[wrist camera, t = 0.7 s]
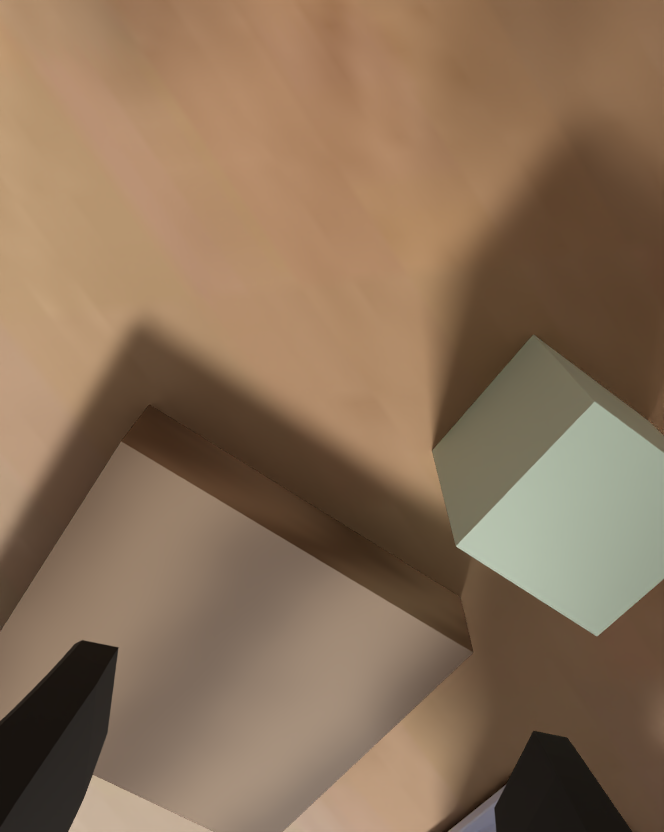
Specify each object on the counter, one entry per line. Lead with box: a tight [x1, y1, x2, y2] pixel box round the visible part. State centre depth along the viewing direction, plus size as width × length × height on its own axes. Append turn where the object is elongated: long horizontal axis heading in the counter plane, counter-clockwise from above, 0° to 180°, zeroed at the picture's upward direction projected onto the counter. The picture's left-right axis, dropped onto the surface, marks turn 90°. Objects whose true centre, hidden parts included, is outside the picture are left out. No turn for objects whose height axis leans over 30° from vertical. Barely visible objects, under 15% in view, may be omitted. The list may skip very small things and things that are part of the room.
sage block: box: [432, 334, 664, 636], centre depth 17 cm, size 4×4×5 cm
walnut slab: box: [0, 405, 473, 832], centre depth 21 cm, size 12×12×3 cm
